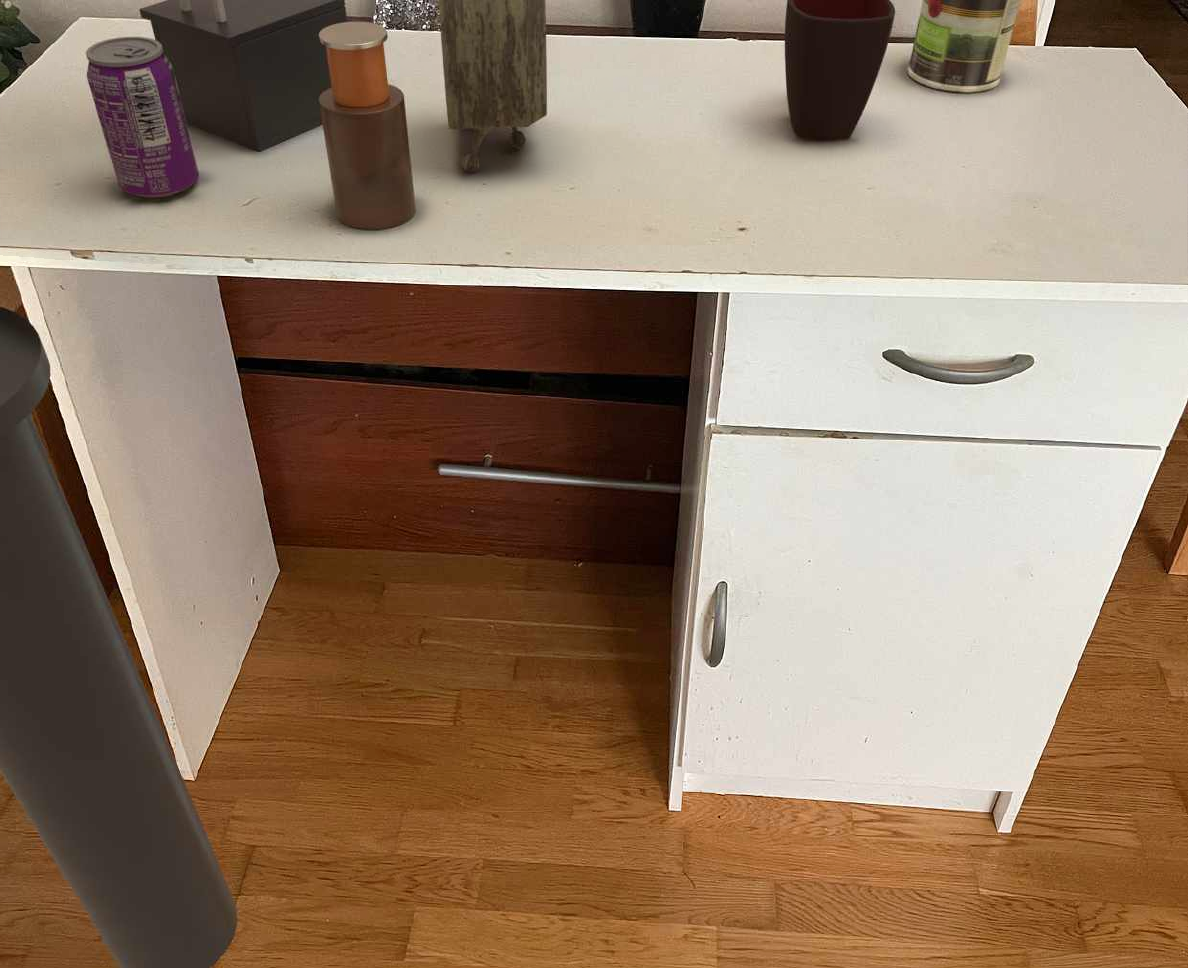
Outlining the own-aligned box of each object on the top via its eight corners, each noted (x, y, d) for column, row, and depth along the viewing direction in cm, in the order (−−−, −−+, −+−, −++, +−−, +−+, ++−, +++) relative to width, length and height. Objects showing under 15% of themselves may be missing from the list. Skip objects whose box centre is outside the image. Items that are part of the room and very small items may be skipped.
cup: (780, 151, 110) (798, 20, 101) (759, 96, 120) (773, -27, 111) (880, 150, 110) (905, 20, 102) (850, 96, 120) (871, -27, 111)
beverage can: (214, 173, 104) (182, 38, 96) (178, 207, 100) (142, 68, 91) (144, 166, 105) (106, 31, 97) (106, 199, 101) (63, 60, 92)
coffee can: (947, 99, 120) (981, -47, 110) (888, 67, 126) (915, -74, 116) (1021, 84, 123) (1060, -60, 113) (959, 53, 129) (991, -85, 119)
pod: (361, 115, 90) (353, 49, 86) (314, 99, 92) (304, 34, 89) (407, 94, 93) (401, 31, 89) (361, 79, 95) (352, 16, 92)
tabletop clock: (450, 119, 114) (428, -172, 96) (539, 117, 115) (533, -173, 97) (452, 182, 104) (427, -131, 86) (549, 179, 105) (544, -132, 87)
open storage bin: (259, 151, 108) (238, 45, 101) (174, 119, 113) (149, 15, 106) (359, 108, 116) (345, 6, 109) (275, 79, 121) (257, -20, 114)
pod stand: (377, 237, 96) (361, 120, 89) (320, 214, 99) (300, 99, 92) (432, 208, 100) (421, 94, 93) (375, 186, 103) (360, 74, 96)
